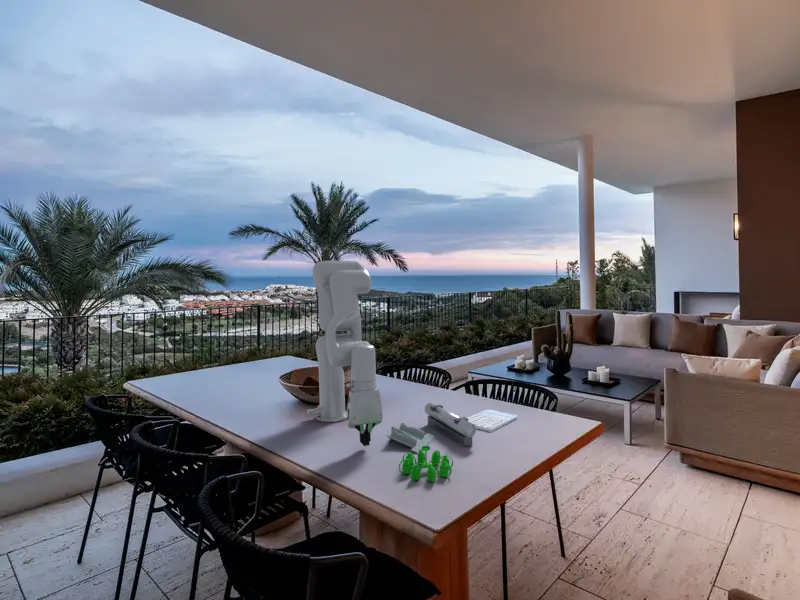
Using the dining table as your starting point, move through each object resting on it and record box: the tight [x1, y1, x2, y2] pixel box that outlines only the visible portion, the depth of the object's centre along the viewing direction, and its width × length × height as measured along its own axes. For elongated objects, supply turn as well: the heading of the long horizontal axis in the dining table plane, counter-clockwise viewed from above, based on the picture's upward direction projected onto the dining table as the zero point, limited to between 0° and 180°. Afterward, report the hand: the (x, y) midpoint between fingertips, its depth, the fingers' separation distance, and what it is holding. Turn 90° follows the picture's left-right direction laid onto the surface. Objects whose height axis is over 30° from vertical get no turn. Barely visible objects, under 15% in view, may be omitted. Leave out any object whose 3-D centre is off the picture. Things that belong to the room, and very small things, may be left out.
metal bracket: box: [386, 422, 436, 454], centre depth 137 cm, size 14×6×15 cm
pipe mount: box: [424, 402, 477, 448], centre depth 144 cm, size 4×26×7 cm, turn 24°
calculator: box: [466, 408, 518, 433], centre depth 157 cm, size 13×20×2 cm, turn 137°
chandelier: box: [398, 445, 454, 483], centre depth 115 cm, size 15×15×7 cm
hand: (365, 444), depth 132 cm, fingers closed
